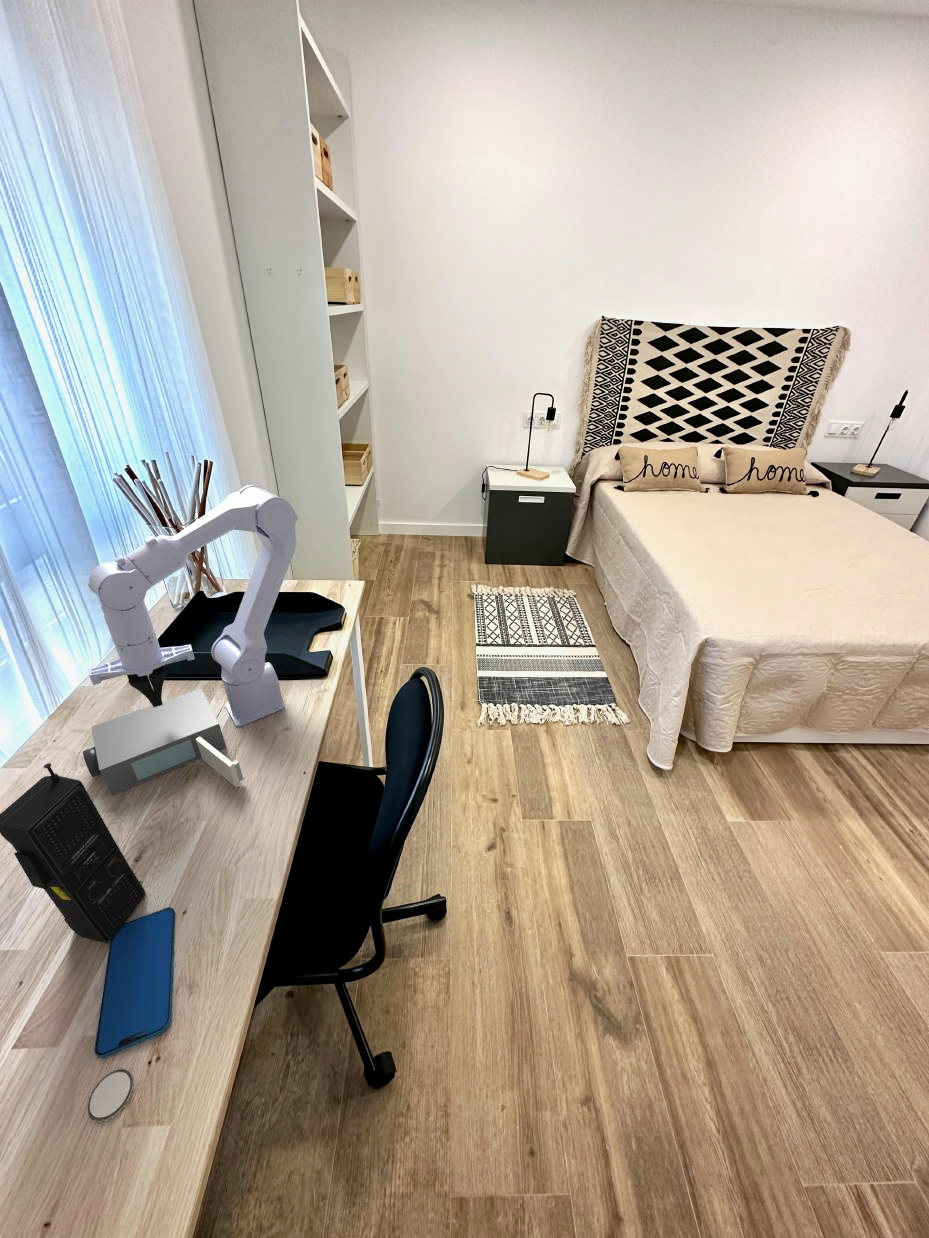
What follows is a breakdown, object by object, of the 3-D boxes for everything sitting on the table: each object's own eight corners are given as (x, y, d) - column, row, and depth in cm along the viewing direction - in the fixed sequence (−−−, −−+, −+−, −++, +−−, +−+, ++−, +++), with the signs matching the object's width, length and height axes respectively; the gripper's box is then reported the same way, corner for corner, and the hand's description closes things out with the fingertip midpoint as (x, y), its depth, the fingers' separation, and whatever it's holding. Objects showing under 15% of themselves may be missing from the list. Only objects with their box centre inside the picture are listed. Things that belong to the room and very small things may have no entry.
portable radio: (105, 954, 63) (17, 827, 50) (64, 943, 64) (-33, 815, 51) (150, 893, 70) (83, 766, 57) (112, 884, 71) (37, 757, 58)
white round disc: (127, 1061, 55) (125, 1058, 54) (140, 1095, 52) (138, 1093, 52) (84, 1096, 52) (81, 1094, 52) (96, 1134, 50) (93, 1132, 50)
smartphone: (175, 904, 68) (169, 1027, 57) (177, 908, 69) (172, 1031, 57) (111, 926, 66) (92, 1060, 54) (114, 931, 66) (95, 1064, 55)
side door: (202, 759, 90) (195, 739, 87) (211, 754, 91) (204, 733, 88) (236, 787, 85) (229, 766, 82) (244, 781, 86) (238, 760, 83)
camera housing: (209, 711, 101) (201, 688, 98) (226, 748, 93) (219, 724, 90) (91, 755, 91) (78, 731, 87) (99, 801, 82) (86, 776, 79)
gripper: (79, 662, 74) (108, 731, 81) (188, 636, 81) (207, 702, 88) (79, 639, 79) (107, 706, 86) (182, 616, 86) (200, 680, 93)
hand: (157, 702), depth 87 cm, fingers closed
